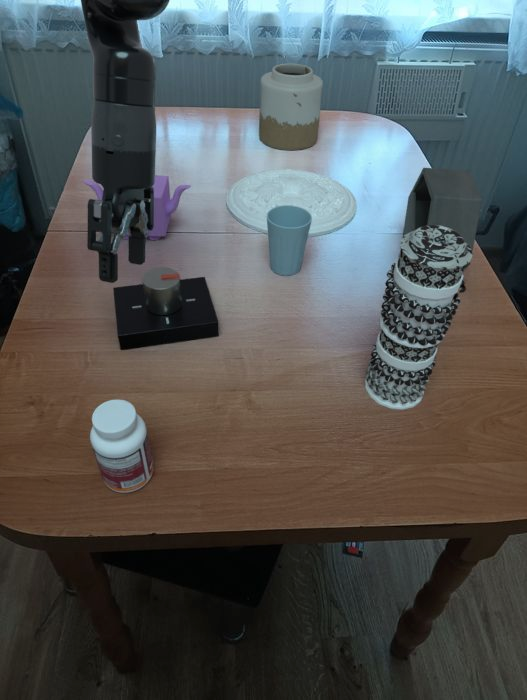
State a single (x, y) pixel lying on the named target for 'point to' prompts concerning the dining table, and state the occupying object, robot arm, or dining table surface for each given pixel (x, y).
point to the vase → (290, 107)
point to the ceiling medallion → (291, 199)
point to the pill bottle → (121, 446)
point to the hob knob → (162, 290)
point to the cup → (287, 238)
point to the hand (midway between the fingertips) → (123, 271)
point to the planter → (444, 203)
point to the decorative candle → (416, 314)
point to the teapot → (155, 204)
